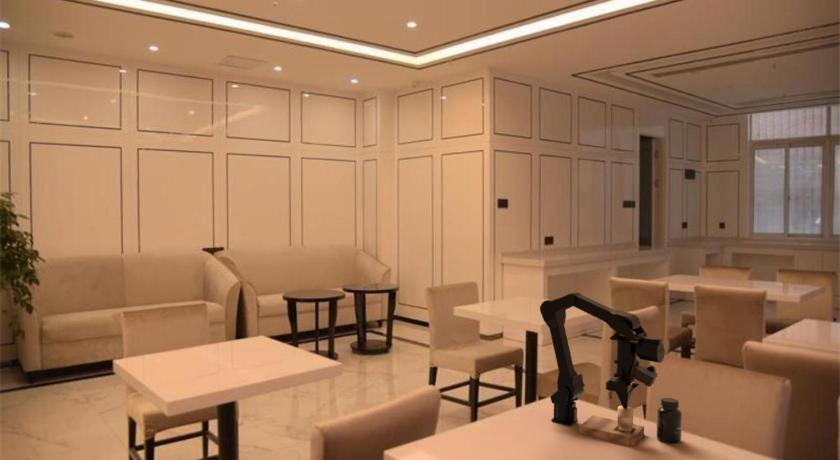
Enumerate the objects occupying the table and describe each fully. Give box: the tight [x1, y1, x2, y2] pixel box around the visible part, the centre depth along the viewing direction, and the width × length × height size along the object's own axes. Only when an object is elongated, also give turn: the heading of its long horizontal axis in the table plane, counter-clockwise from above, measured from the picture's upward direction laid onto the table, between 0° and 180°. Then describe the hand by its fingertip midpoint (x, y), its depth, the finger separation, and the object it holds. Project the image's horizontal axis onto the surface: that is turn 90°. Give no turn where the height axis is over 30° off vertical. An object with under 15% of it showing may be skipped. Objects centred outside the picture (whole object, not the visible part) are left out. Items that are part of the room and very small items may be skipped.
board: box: [579, 415, 645, 447], centre depth 181 cm, size 16×11×2 cm
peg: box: [617, 405, 634, 434], centre depth 178 cm, size 4×4×9 cm
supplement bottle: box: [656, 397, 683, 445], centre depth 177 cm, size 7×7×12 cm
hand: (625, 408), depth 178 cm, fingers closed
